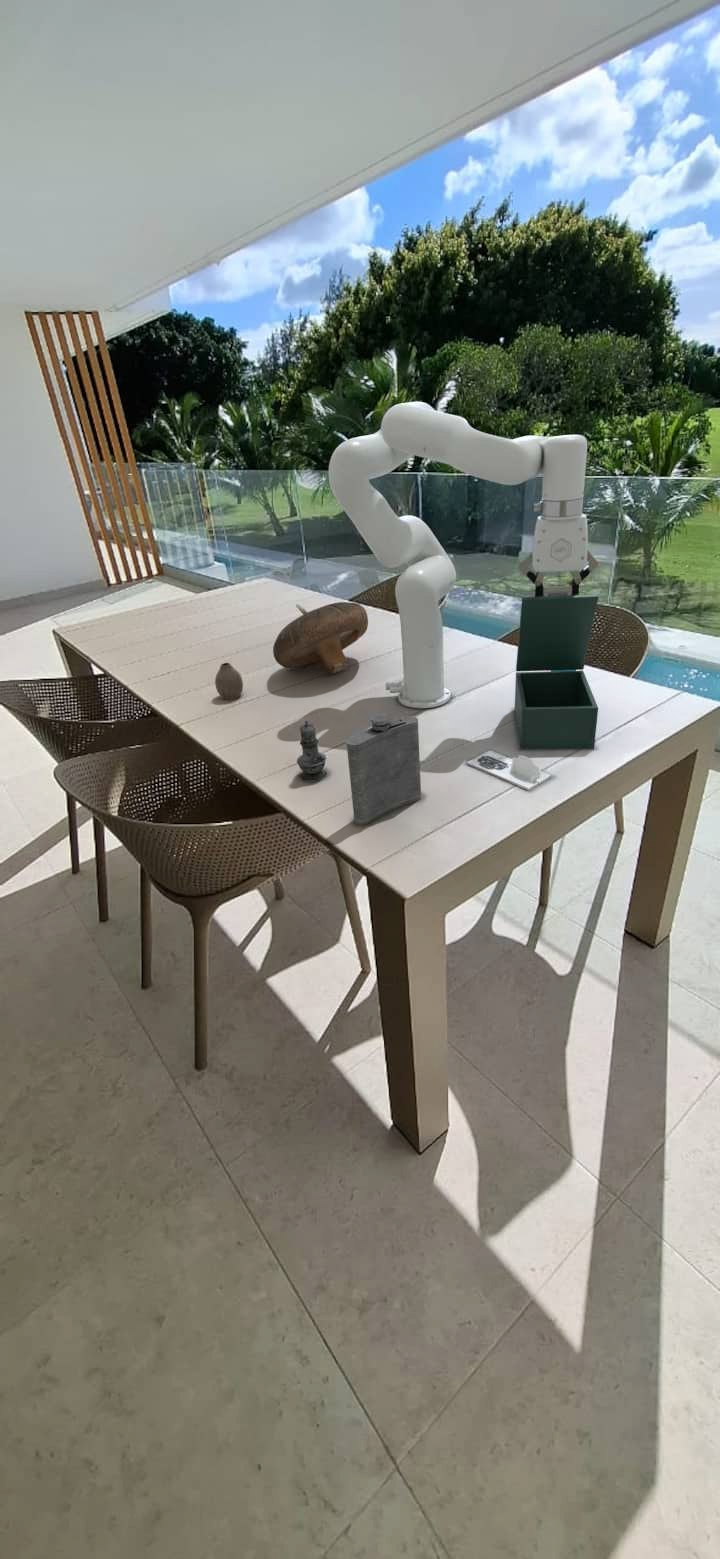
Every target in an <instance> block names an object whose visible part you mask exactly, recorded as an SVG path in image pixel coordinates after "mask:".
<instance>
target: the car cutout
mask: <svg viewBox="0 0 720 1559" xmlns="http://www.w3.org/2000/svg"><path fill="white" fill-rule="evenodd" d="M466 764H467V765H468V766H471V767H473V768H475V769H477V770H479V771H482V772H485V773H487V774H489V775H492V776H494V777H496V778H498V779H500V780H503V781H506V782H508V783H510V784H512V785H514V786H516V787H519V788H522V789H524V790H526V791H528V792H530V791H531V790H533V789H534V788H536V787H538V786H540V785H541V784H542V783H544V782H546V781H547V780H550V779H551V778H552V777H553V776H552V774H551V773H547V772H545V771H543V770H540V768H539V767H538V766H537V765H535V763H534V760H533V759H532V758H530V757H528V756H525V755H522V754H519V755H518V757H513V758H510V757H509V756H505V755H503V754H500V753H497V752H495V751H492V750H488V751H485V752H484V753H482V754H480V755H478V756H475V757H474V758H472V759H471V760H469V761H467V763H466Z"/></svg>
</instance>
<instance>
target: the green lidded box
mask: <svg viewBox="0 0 720 1559" xmlns="http://www.w3.org/2000/svg"><path fill="white" fill-rule="evenodd" d="M514 685H515V686H514V689H515V690H514V714H515V722H516V728H517V735H518V742H519V749H520V750H594V749H595V744H596V734H597V726H598V716H599V706H598V704H597V701H596V699H595V696H594V694H593V692H592V689H591V686H590V684H589V681H588V678H587V676H586V674H585V671H584V670H576V671H515V684H514Z"/></svg>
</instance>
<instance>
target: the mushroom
mask: <svg viewBox="0 0 720 1559" xmlns="http://www.w3.org/2000/svg"><path fill="white" fill-rule="evenodd" d="M295 607H296V609H297V610H298V611H300V613H301V614H302V615H300V616H299V617H297V618H295V619H294V620H292V621H291V622H289V623H288V624H287V625H286V626H285V627H284V628H282V629H281V630H280V632H279V633H278V635H277V637H276V639H275V641H274V644H273V646H272V654H273V658H274V659H275V662H276V663H277V664H279V665H280V666H281V667H283V668H284V669H296V668H300V667H303V666H307V665H309V664H312V663H317V662H319V661H322V663H323V666H324V667H325V669H326V670H327V672H328V674H329V675H335V674H337V673H340V672H343V670H345V669H346V668H347V667H348V666H349V662H348V660H347V657H346V655H345V654H344V651H343V650H345V649H347V648H348V647H349V646H351V645H353V644H355V643H356V642H357V641H358V640H359V639H360V638H361V637H363V636H364V634H366V632H367V630H368V627H369V618H368V613H367V610H366V608H365V607H364V606H363V605H361V604H360V603H356V602H348V601H339V602H333V603H330V604H326V605H323V606H320V607H317V608H315V609H312V610H310V611H307V610H306V609H305V607H303V606H302V604H300V603H296V604H295Z"/></svg>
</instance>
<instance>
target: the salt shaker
mask: <svg viewBox="0 0 720 1559" xmlns="http://www.w3.org/2000/svg"><path fill="white" fill-rule="evenodd" d="M299 732H300V742H299V745H300V746H301V749H302V754H300V755H299V756H298V757H297V759H296V763H297V765H298V767H299V769H300V770H301V773H300V776H299V777H300V779H301V780H302V781H304V782H308V783H309V782H312V783H313V782H319V781H322V780H323V779H325V778H326V777H327V775H328V772H327V771H326V769H324V768H325V765H326V761H327V756H326V754H324V753H322V752H320V750H319V746H318V743H319V741H320V740H319V739H318V738H317V734H316V728H315V725H313V723H309V721H308V720H307V719H306V720H305V721H304V724H302V725H301V726H300V727H299Z"/></svg>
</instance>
